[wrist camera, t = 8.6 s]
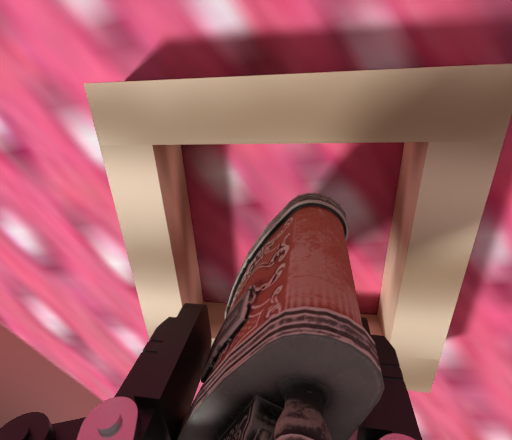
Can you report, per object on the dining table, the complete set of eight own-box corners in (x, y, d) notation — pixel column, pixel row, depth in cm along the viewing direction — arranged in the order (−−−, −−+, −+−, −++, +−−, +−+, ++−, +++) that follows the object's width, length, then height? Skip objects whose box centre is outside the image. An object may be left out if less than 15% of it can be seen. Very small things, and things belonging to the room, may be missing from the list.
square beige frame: (123, 81, 15) (83, 83, 13) (481, 64, 13) (527, 63, 10) (173, 326, 22) (155, 361, 19) (413, 348, 20) (429, 392, 17)
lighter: (293, 177, 12) (243, 459, 3) (366, 217, 12) (501, 580, 4) (215, 308, 16) (91, 610, 7) (272, 337, 16) (224, 665, 7)
